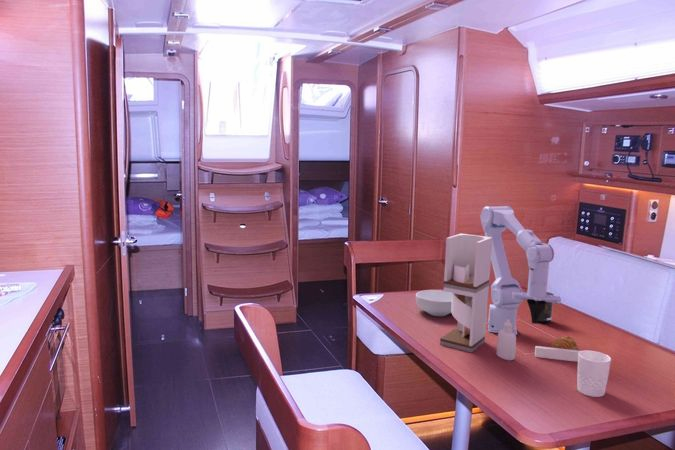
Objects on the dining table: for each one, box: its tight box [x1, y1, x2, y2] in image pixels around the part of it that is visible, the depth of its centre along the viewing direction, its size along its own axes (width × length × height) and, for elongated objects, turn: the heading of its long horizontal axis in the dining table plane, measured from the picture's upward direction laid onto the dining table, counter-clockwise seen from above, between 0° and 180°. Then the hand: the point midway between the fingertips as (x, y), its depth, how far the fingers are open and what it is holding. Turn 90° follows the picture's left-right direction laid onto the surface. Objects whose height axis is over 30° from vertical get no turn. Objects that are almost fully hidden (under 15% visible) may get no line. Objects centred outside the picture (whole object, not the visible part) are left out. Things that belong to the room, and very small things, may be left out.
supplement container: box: [535, 291, 555, 325], centre depth 200 cm, size 7×7×10 cm
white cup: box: [576, 349, 612, 398], centre depth 144 cm, size 8×8×10 cm
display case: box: [439, 233, 492, 353], centre depth 174 cm, size 11×11×35 cm
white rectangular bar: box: [534, 345, 581, 363], centre depth 166 cm, size 14×2×3 cm, turn 76°
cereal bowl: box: [415, 289, 452, 317], centre depth 207 cm, size 17×17×7 cm
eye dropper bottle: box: [496, 320, 517, 361], centre depth 165 cm, size 4×6×12 cm
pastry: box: [550, 335, 579, 350], centre depth 174 cm, size 9×7×4 cm
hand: (534, 322), depth 175 cm, fingers closed
